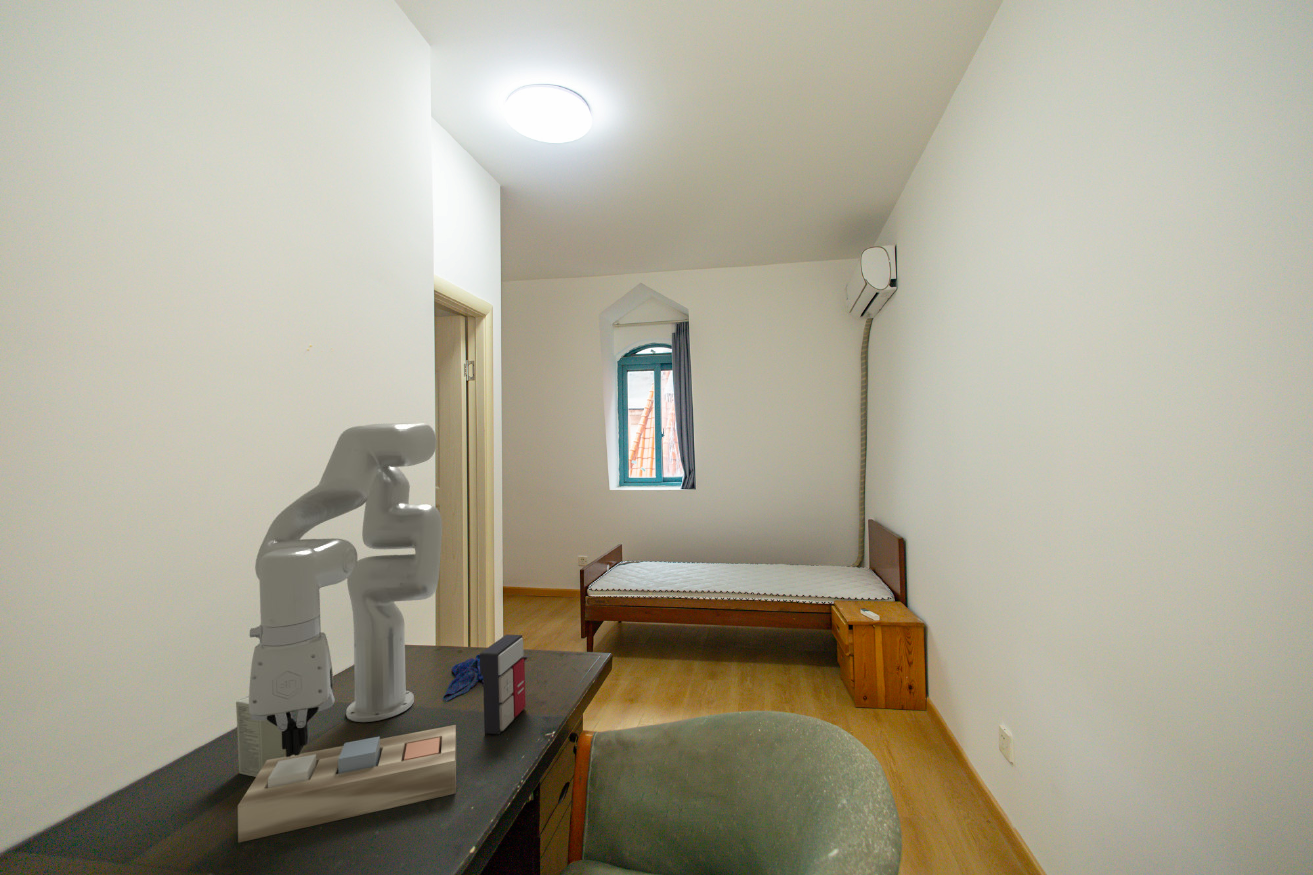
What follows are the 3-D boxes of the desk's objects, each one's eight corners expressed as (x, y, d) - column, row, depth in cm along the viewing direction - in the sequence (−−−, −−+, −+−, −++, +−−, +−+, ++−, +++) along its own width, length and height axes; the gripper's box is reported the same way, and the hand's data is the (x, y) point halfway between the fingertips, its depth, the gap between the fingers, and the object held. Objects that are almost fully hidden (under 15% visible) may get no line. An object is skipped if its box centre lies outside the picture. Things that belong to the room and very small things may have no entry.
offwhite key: (278, 780, 84) (278, 761, 84) (316, 773, 85) (316, 753, 85) (267, 800, 79) (267, 779, 79) (307, 791, 81) (307, 771, 81)
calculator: (502, 735, 101) (500, 654, 102) (481, 734, 102) (479, 653, 102) (527, 708, 112) (526, 634, 112) (508, 706, 113) (506, 633, 113)
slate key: (345, 761, 87) (344, 742, 87) (380, 755, 88) (379, 736, 89) (338, 779, 82) (338, 759, 82) (375, 771, 84) (375, 751, 84)
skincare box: (288, 765, 94) (287, 693, 94) (262, 780, 89) (261, 705, 90) (262, 759, 96) (261, 689, 96) (235, 773, 92) (234, 700, 92)
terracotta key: (407, 762, 90) (407, 743, 90) (440, 755, 91) (439, 737, 92) (404, 778, 85) (404, 759, 85) (438, 771, 87) (438, 752, 87)
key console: (267, 792, 86) (267, 760, 86) (456, 753, 96) (455, 724, 96) (238, 842, 75) (237, 805, 75) (455, 793, 84) (454, 760, 84)
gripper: (222, 647, 77) (226, 777, 77) (342, 631, 82) (346, 753, 82) (242, 630, 84) (245, 749, 84) (351, 616, 89) (355, 728, 89)
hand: (295, 751), depth 83 cm, fingers closed
